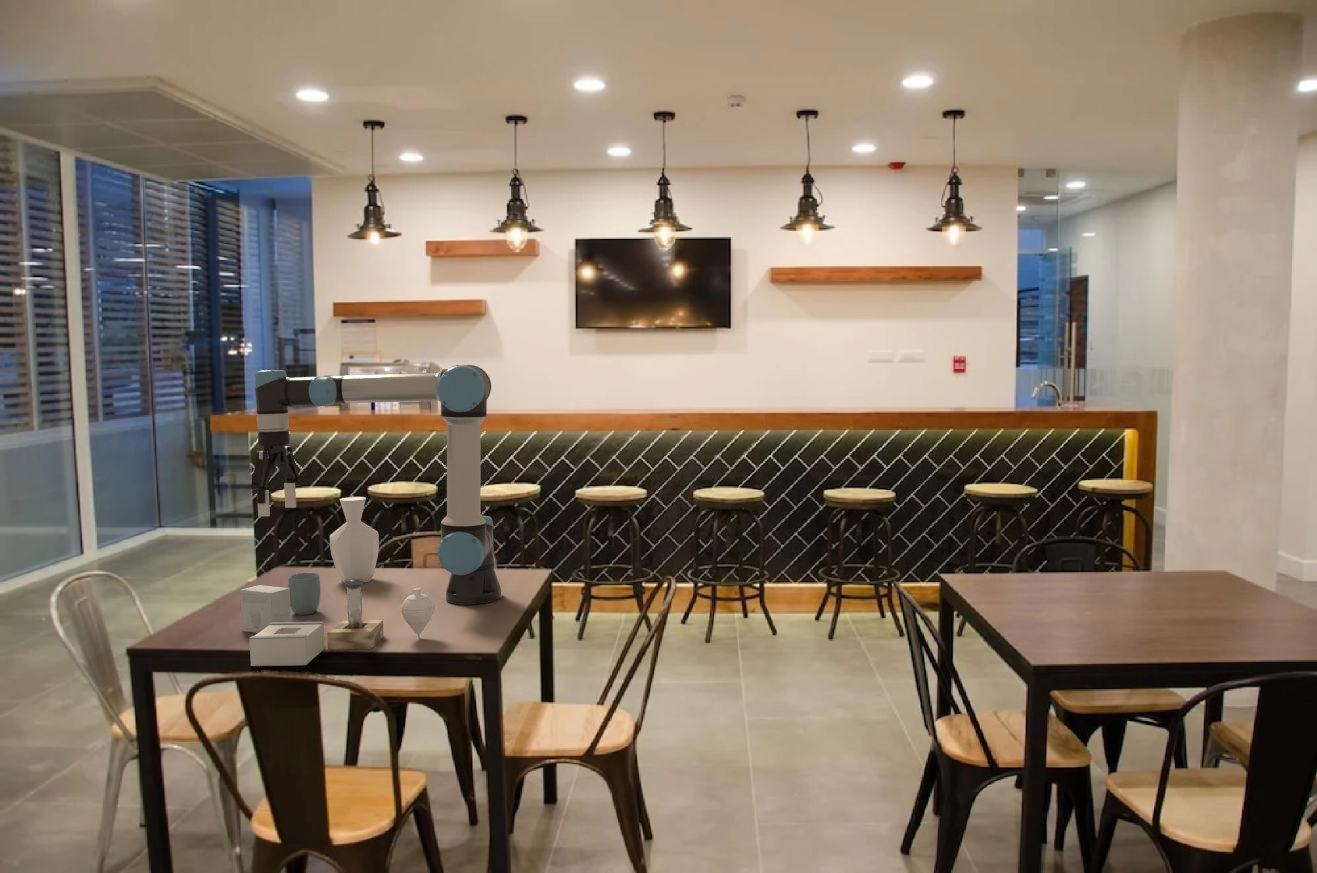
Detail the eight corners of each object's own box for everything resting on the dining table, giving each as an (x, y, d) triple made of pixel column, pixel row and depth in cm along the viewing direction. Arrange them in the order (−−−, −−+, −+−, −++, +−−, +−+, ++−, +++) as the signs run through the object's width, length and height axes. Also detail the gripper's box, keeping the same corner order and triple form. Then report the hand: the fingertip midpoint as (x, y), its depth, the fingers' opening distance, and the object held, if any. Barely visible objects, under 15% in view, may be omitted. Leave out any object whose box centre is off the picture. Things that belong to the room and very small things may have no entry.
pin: (367, 639, 224) (364, 577, 223) (362, 645, 220) (359, 581, 219) (350, 640, 224) (347, 578, 223) (345, 645, 220) (342, 582, 219)
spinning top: (409, 632, 229) (407, 584, 228) (439, 633, 228) (438, 584, 227) (397, 642, 222) (395, 592, 221) (428, 643, 221) (427, 592, 220)
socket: (324, 648, 218) (323, 621, 217) (305, 665, 206) (304, 636, 206) (273, 648, 218) (271, 622, 217) (250, 665, 206) (249, 637, 206)
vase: (390, 577, 288) (387, 496, 286) (358, 588, 275) (354, 503, 273) (354, 573, 294) (350, 494, 292) (320, 583, 281) (317, 501, 279)
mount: (383, 635, 227) (383, 619, 227) (371, 648, 217) (370, 631, 217) (342, 636, 227) (341, 620, 227) (327, 649, 217) (327, 632, 217)
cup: (310, 617, 244) (308, 579, 243) (283, 616, 246) (281, 578, 245) (326, 609, 252) (325, 572, 251) (300, 608, 253) (298, 572, 253)
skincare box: (292, 628, 235) (290, 587, 234) (272, 635, 229) (270, 593, 228) (261, 624, 239) (259, 583, 238) (240, 631, 233) (238, 589, 232)
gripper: (283, 426, 255) (288, 504, 257) (232, 434, 231) (237, 519, 233) (310, 426, 255) (314, 503, 256) (261, 433, 230) (266, 519, 232)
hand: (277, 511), depth 244 cm, fingers open, 13 cm apart
